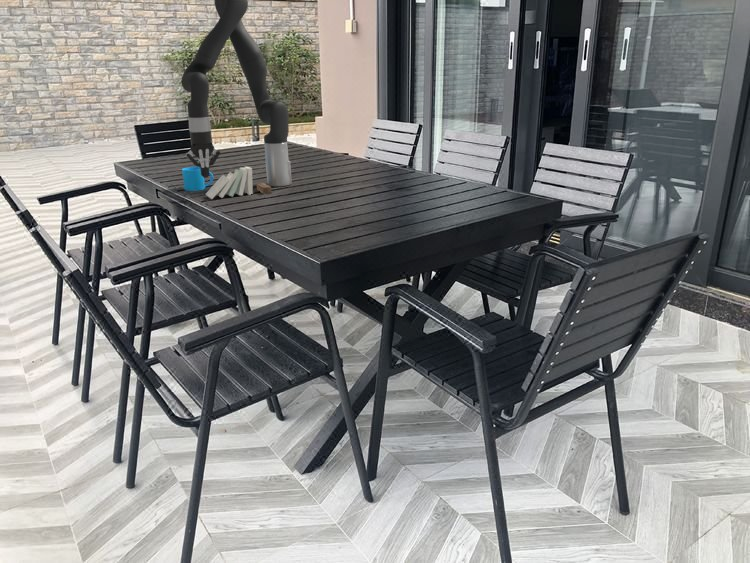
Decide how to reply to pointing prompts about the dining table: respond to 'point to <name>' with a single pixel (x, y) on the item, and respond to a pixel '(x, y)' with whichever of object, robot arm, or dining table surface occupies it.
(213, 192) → the domino
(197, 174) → the mug
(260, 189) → the end stop
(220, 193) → the domino
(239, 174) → the domino
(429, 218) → the dining table surface
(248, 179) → the domino end
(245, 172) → the domino
